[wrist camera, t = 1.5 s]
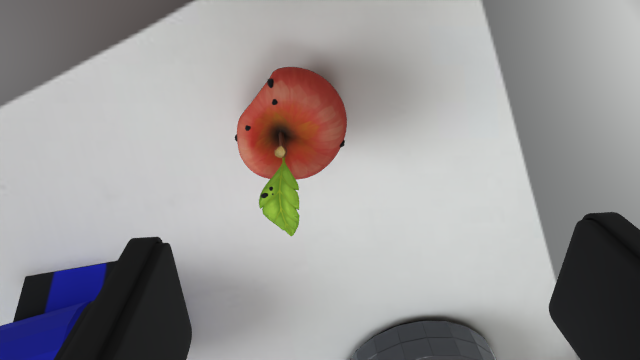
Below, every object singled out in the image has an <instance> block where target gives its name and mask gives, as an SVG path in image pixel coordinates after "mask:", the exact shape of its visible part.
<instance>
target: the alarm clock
mask: <svg viewBox="0 0 640 360" xmlns="http://www.w3.org/2000/svg"><path fill="white" fill-rule="evenodd" d="M116 263H117V261H115V262H109V263H104V264H98V265H92V266H86V267H80V268H75V269H69V270H63V271H57V272H51V273H46V274H40V275H34V276H28V277H25V281H24V284H23V288H22V292H21V295H20V299H19V303H18V306H17V310H16V313H15V317H14V321H13V323H9V324H6V325H2V326H0V360H53V359H54V358H55V356H56V354H57V353H58V351H59V349H60V348H61V346H62V344H63V343H64V341H65V339H66V338H67V336H68V334H69V333H70V331H71V329H72V328H73V326H74V324H75V323H76V321H77V319H78V318H79V316H80V314H81V313H82V311H83V310H84V308H85V307H86V306H87V304H89V303H90V302H92V301H95V299H96V297H97V295H98V294H99V292H100V290H101V288H102V287H103V285H104V283H105V282H106V280H107V278H108V276H109V275H110V273H111V271H112V270H113V268H114V266H115V264H116Z"/></svg>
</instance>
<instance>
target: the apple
mask: <svg viewBox="0 0 640 360" xmlns="http://www.w3.org/2000/svg"><path fill="white" fill-rule="evenodd" d="M346 127H347V117H346V111H345V107H344V104H343V102H342V100H341V98H340V96H339V94H338V93H337V91H336V90H335V89H334V87H333V86H332V85H331V84H330V83H329V82H328V81H327V80H326V79H324V78H323V77H321V76H320V75H318V74H316V73H314V72H312V71H310V70H307V69H303V68H297V67H283V68H279V69H277V70H275V71H274V72H273V73H272V75H271V77H270V78H269V79H268V81H267V82H266V84H265V85H264V86H263V88H262V89H261V91H260V92H259V93H258V95H257V96H256V97H255V98H254V100H253V101H252V103H251V104H250V105H249V106H248V107H247V109H246V110H245V111H244V112H243V114H242V115H241V117H240V119H239V121H238V126H237V134H236V136H235V140H236V141H237V142H238V149H239V153H240V156H241V158H242V160H243V162H244V163H245V164H246V166H247V167H248V168H249V169H250V170H251V171H253V172H254V173H256V174H257V175H259V176H262V177H264V178H268V179H270V180H269V182H268V183H267V184H266V186H265V187H264V189H263V191H262V193H261V195H260V199H259V205H260V208H262V207H263V209H262V210H263V214H264V215H265V216H266V217H267V218H268V219H269V220H270V221H272V222H273V223H274V224H276V225H277V226H279V227H280V228H281V229H282V230H285V231H286V232H287V233H288V234H289V235H290V236H292V235H294V233H295V231H296V229H297V227H298V224H299V214H298V212H297V210H296V209H298V210H299V197H298V193H297V192H296V191H295V190H299V188H298V184H297V182H296V180H295V179H303V178H307V177H310V176H313V175H315V174H317V173H318V172H320V171H321V170H323V169H324V168H325V167H326V166H327V165H328V164H330V162H331V161H332V160H333V159H334V158H335V156H336V155H337V153H338V151H339V150H340V148H341V147H343V146H344V143H345V141H344V137H345V133H346Z"/></svg>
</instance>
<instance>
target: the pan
mask: <svg viewBox="0 0 640 360" xmlns="http://www.w3.org/2000/svg"><path fill="white" fill-rule="evenodd" d="M351 360H497V359H496V357H495V355H494V353H493V351H492V350H491V348H490V346H489V345H488V343H487V342H486V340H485V338H484V337H482V336H481V335H479V334H478V333H476V332H475V331H473V330H472V329H470V328H469V327H466V326H463V325H459V324H455V323H452V322H448V321H418V322H414V323H409V324H404V325H399V326H396V327H394V328H391V329H389V330H387V331H385V332H383V333H380V334H378V335H376V336H374V337H373V338H371V339H370V340H369V341H368V342H366V343H365V344H364V345H363V346H361V347H360V348H359V349H358V350H356V352H355V353H354V355H353V356H352V358H351Z"/></svg>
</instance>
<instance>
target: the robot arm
mask: <svg viewBox="0 0 640 360" xmlns="http://www.w3.org/2000/svg"><path fill="white" fill-rule="evenodd" d="M549 312H550V315H551V318H552V320H553V321H554V323H555V324H556V326H557V327H558V328H559V330H560V331H561V333H562V334H563V335H564V337H565V338H566V340H567V341H568V342H569V344H570V345H571V347H572V348H573V349H574V351H575V352H576V354H577V355H578V356H579V358H580V359H581V360H640V230H639V229H638V228H636V227H635V226H634V225H633V224H632V223H630V222H629V221H628V220H627V219H625V218H624V217H623V216H621V215H620V214H618V213H614V212H607V213H590V214H587V215H585V216H584V217H583V219H582V220H581V221H579V222H578V223H577V224H576V227H575V229H574V232H573V235H572V238H571V241H570V244H569V247H568V250H567V253H566V256H565V259H564V262H563V265H562V268H561V271H560V274H559V277H558V280H557V283H556V285H555V288H554V291H553V294H552V297H551V300H550V303H549ZM191 337H192V329H191V324H190V320H189V316H188V312H187V308H186V304H185V300H184V296H183V293H182V289H181V285H180V281H179V277H178V273H177V269H176V265H175V261H174V257H173V254H172V250H171V246H170V244H169V243H162V240H161V239H160V238H159V237H147V238H133V239H131V240H130V241H129V242H128V244H127V246H126V247H125V249H124V251H123V252H122V254H121V256H120V258H119V259H118V261H117V263H116V264H115V266H114V268H113V270H112V271H111V273H110V275H109V276H108V278H107V280H106V282H105V283H104V285H103V287H102V288H101V290H100V292H99V294H98V295H97V297H96V299H95V301H92V302H90V303H89V304H87V306H86V307H85V308H84V310H83V311H82V313H81V314H80V316H79V318H78V319H77V321H76V323H75V324H74V326H73V328H72V329H71V331H70V333H69V334H68V336H67V338H66V339H65V341H64V343H63V344H62V346H61V348H60V349H59V351H58V353H57V354H56V356H55V358H54V359H53V360H186V359H187V355H188V351H189V347H190V344H191Z"/></svg>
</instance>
